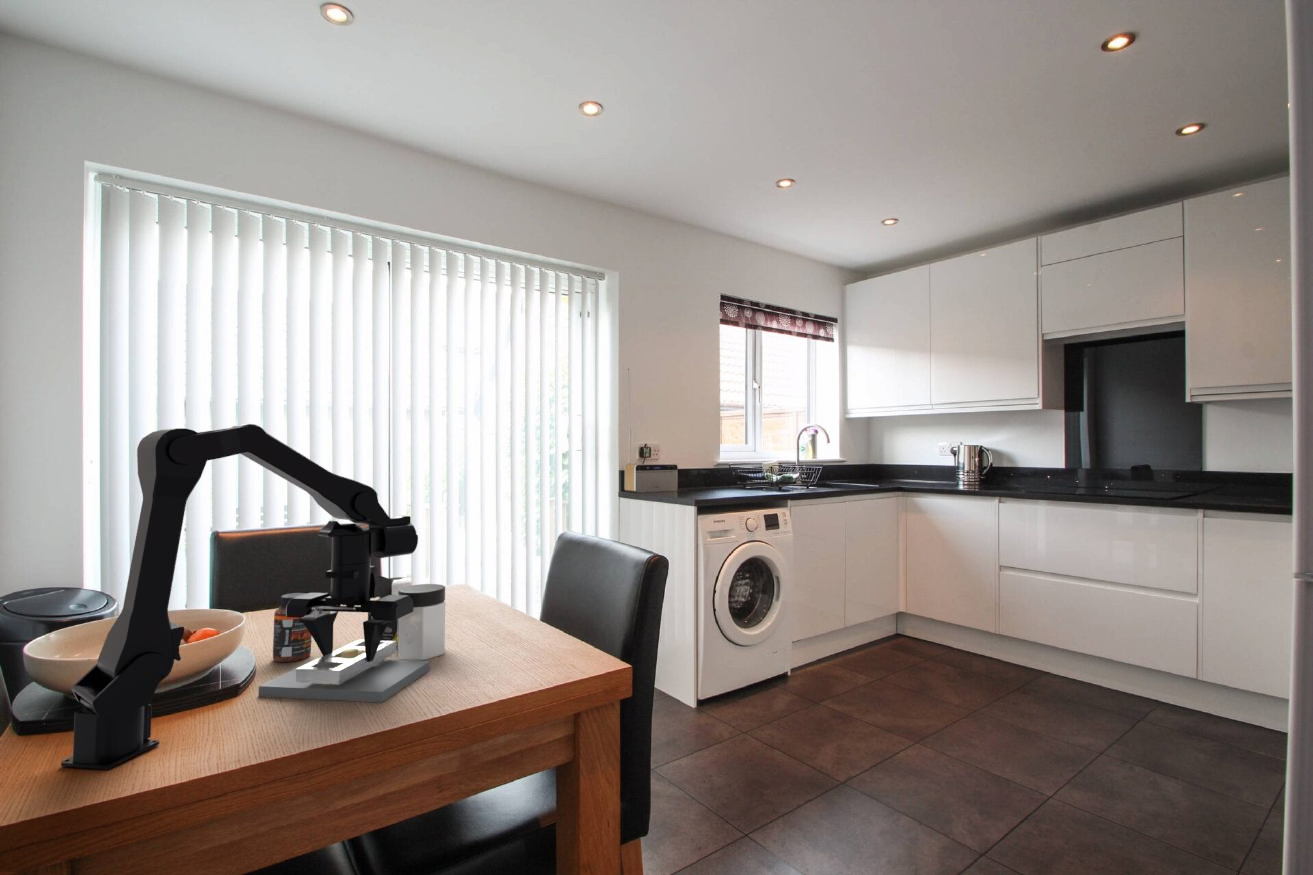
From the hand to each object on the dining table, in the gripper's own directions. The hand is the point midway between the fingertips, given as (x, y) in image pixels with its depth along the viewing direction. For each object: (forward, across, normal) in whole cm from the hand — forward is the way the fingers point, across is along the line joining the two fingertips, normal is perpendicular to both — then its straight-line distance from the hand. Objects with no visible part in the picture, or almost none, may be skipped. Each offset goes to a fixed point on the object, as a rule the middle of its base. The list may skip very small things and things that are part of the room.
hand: (349, 660), depth 96 cm
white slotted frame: (+1, 0, 0) cm, 1 cm away
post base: (+4, 0, 0) cm, 4 cm away
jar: (+4, -4, -15) cm, 16 cm away
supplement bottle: (+4, +18, -10) cm, 21 cm away
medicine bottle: (+4, +6, -23) cm, 24 cm away
